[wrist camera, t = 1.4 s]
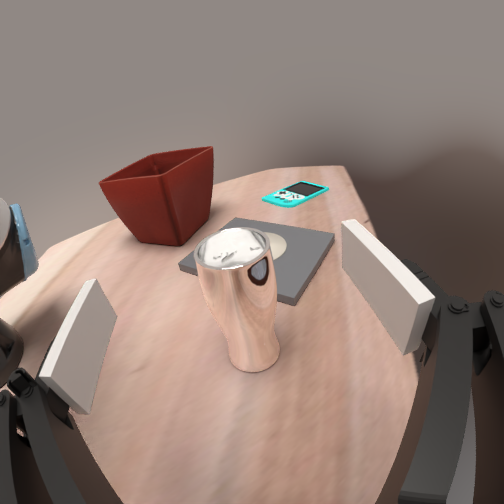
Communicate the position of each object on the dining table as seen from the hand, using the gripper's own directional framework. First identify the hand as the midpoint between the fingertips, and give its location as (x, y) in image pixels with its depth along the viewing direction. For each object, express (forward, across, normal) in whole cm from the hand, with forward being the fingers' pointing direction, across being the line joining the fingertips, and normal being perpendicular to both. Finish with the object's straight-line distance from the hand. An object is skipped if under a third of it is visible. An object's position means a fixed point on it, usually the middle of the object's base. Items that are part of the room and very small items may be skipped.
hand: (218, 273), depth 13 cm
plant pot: (+47, -13, -16) cm, 51 cm away
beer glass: (+10, 0, -19) cm, 21 cm away
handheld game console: (+55, +18, -18) cm, 60 cm away
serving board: (+30, +4, -18) cm, 35 cm away
